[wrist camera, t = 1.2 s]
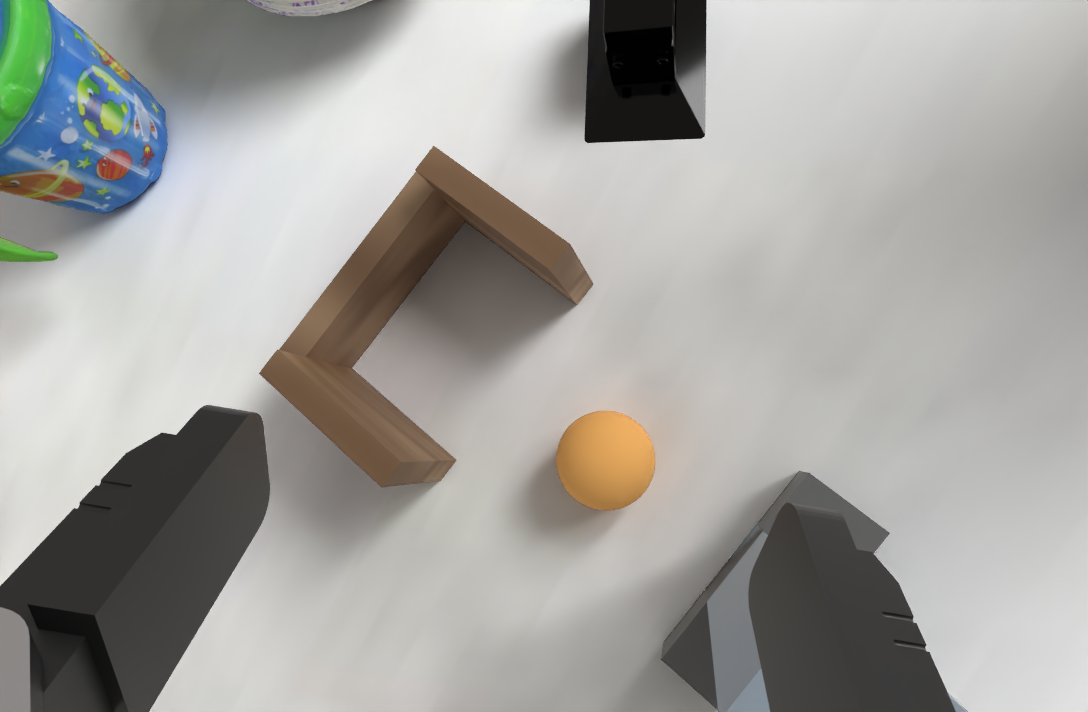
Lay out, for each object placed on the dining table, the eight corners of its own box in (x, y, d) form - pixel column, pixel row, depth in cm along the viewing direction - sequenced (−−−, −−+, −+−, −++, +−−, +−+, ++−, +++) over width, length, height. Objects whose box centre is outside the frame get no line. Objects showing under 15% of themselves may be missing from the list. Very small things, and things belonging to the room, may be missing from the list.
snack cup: (70, 24, 39) (-137, -119, 30) (223, 19, 37) (53, -138, 27) (14, 281, 38) (-226, 220, 28) (171, 293, 35) (-30, 231, 25)
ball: (603, 395, 30) (590, 386, 26) (676, 452, 29) (674, 452, 25) (548, 466, 30) (526, 468, 26) (619, 525, 29) (607, 537, 25)
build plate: (720, 172, 30) (725, 124, 26) (563, 179, 32) (542, 135, 28) (723, -74, 32) (727, -158, 28) (573, -56, 34) (555, -132, 29)
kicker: (799, 471, 27) (904, 489, 14) (872, 526, 27) (1060, 602, 13) (663, 642, 28) (636, 823, 14) (731, 702, 27) (773, 957, 13)
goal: (461, 187, 32) (412, 130, 27) (593, 283, 30) (570, 244, 25) (319, 372, 33) (239, 355, 27) (440, 480, 31) (381, 487, 25)
